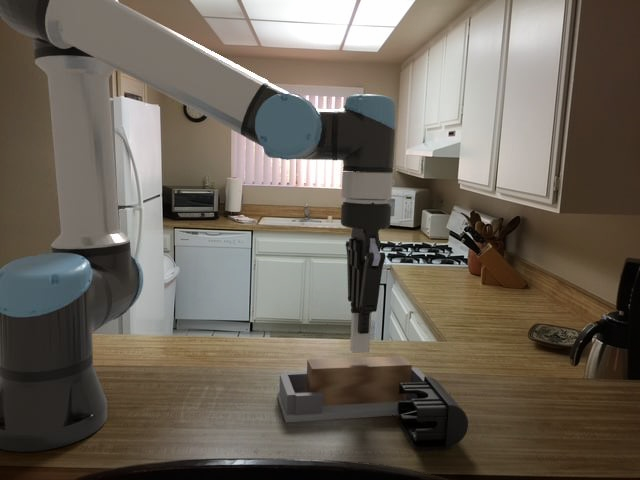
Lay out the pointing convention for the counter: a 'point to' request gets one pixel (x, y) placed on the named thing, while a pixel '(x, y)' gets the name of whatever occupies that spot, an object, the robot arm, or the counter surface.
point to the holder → (310, 405)
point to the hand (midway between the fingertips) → (359, 350)
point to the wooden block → (358, 379)
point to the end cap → (431, 416)
